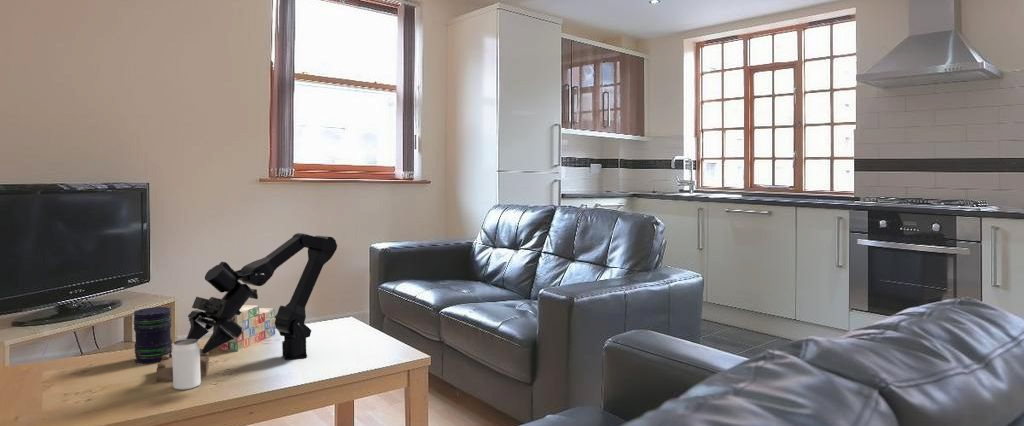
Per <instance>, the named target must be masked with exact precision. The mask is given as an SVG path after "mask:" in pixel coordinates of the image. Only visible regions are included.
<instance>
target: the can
mask: <svg viewBox="0 0 1024 426" xmlns="http://www.w3.org/2000/svg"><path fill="white" fill-rule="evenodd" d="M198 341H199V340H196V339H186V338H184V339H179V340H175V341H174V342H173V345H172V353H171V354H172V362H173V380H172V382H173V383H172V384H173V389H175V390H177V391H187V390H193V389H195V388H197V387H199V386H200V385H201V384H202V383H201V379H202V378H201V374H200V355H201V350H200V349H201V348H200V347H201V346H200V344H199V342H198Z"/></svg>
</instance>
